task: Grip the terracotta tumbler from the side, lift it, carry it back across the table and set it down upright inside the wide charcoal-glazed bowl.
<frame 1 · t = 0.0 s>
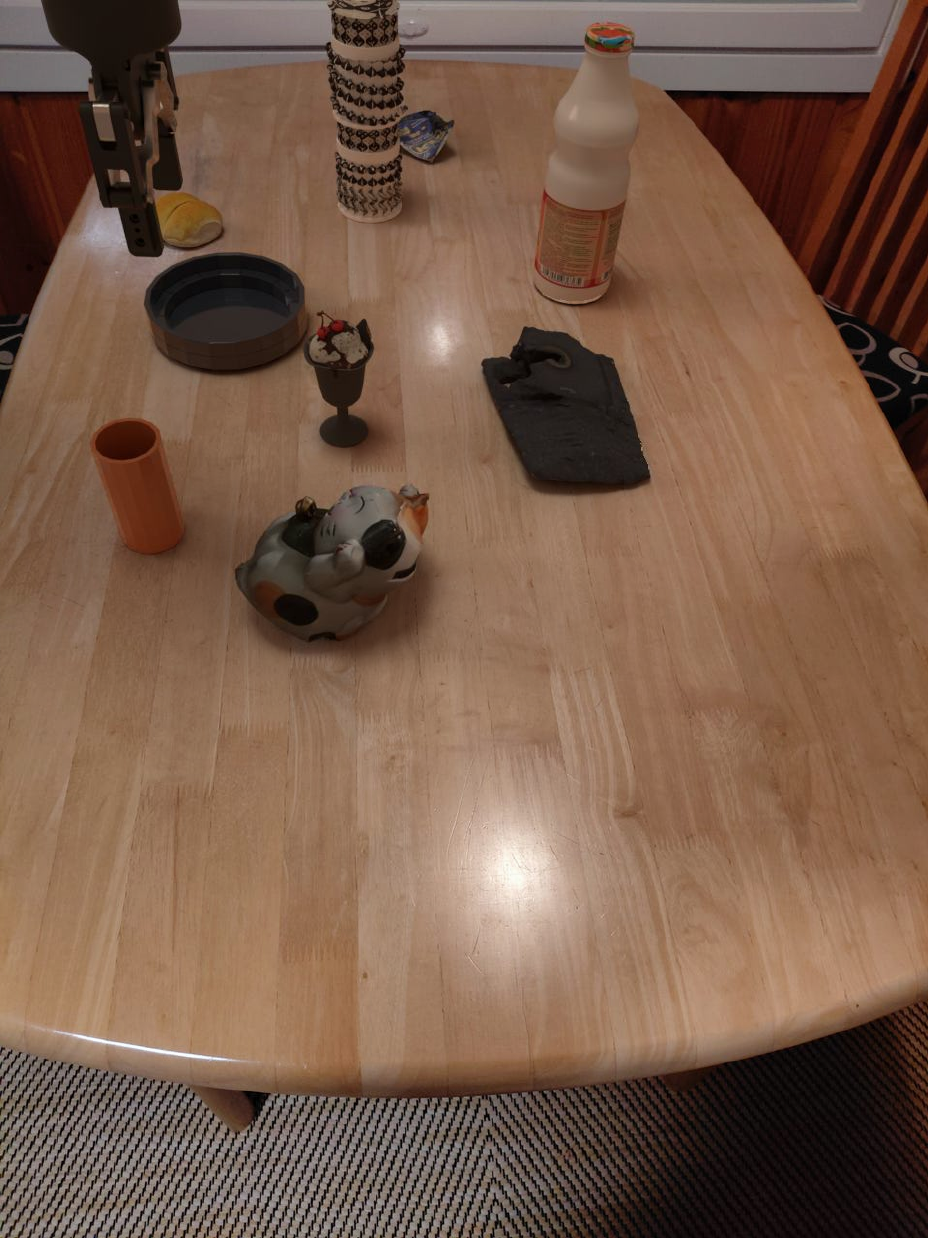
hand: (158, 219, 64), 29 cm above the table, tool pointing down, fingers open, 8 cm apart
cream patterned cylinder: (370, 207, 123), on the table
dark slate chunk: (562, 421, 98), on the table
bowl: (230, 326, 105), on the table
sundae: (343, 432, 96), on the table
lucky cat figurine: (338, 587, 83), on the table
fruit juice: (570, 286, 114), on the table
bread roll: (188, 232, 117), on the table
tumbler: (153, 531, 86), on the table
snack package: (413, 144, 134), on the table
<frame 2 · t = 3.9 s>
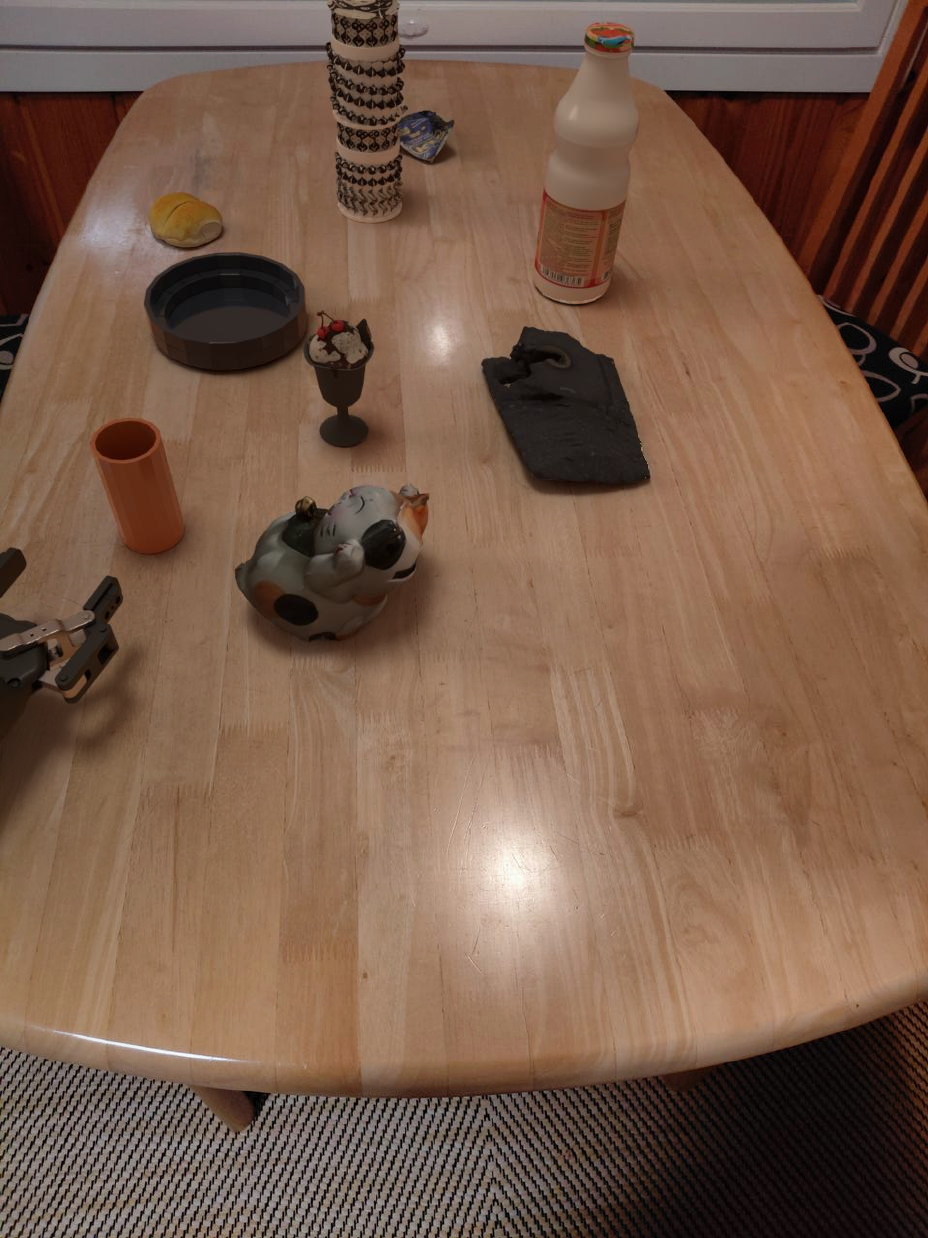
hand: (67, 568, 74), 7 cm above the table, tool horizontal, fingers open, 8 cm apart
nothing on the table moved.
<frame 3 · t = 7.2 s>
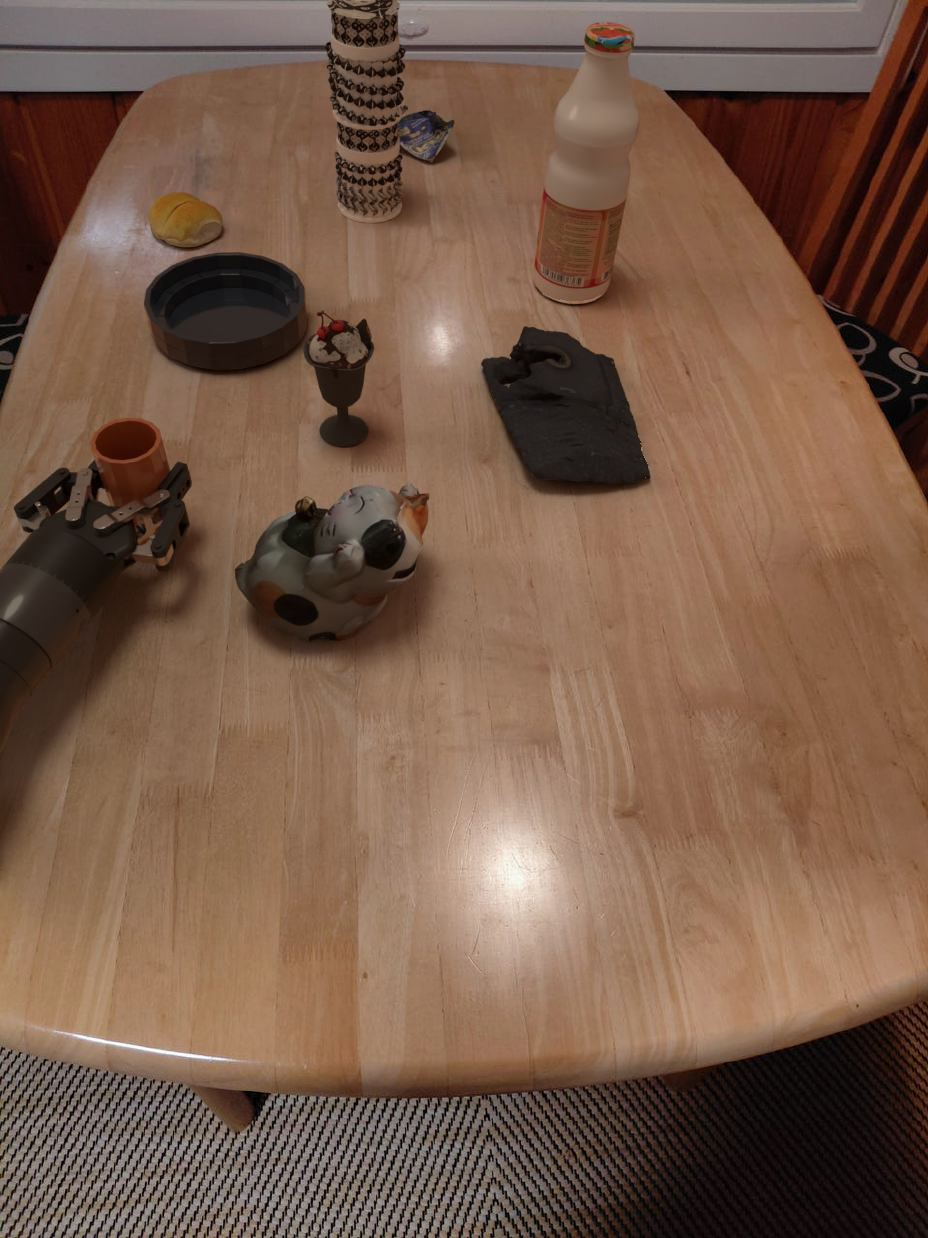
hand: (152, 461, 82), 7 cm above the table, tool horizontal, fingers closed on tumbler, 5 cm apart
tumbler: (153, 531, 86), on the table, touching gripper
everything else where it was.
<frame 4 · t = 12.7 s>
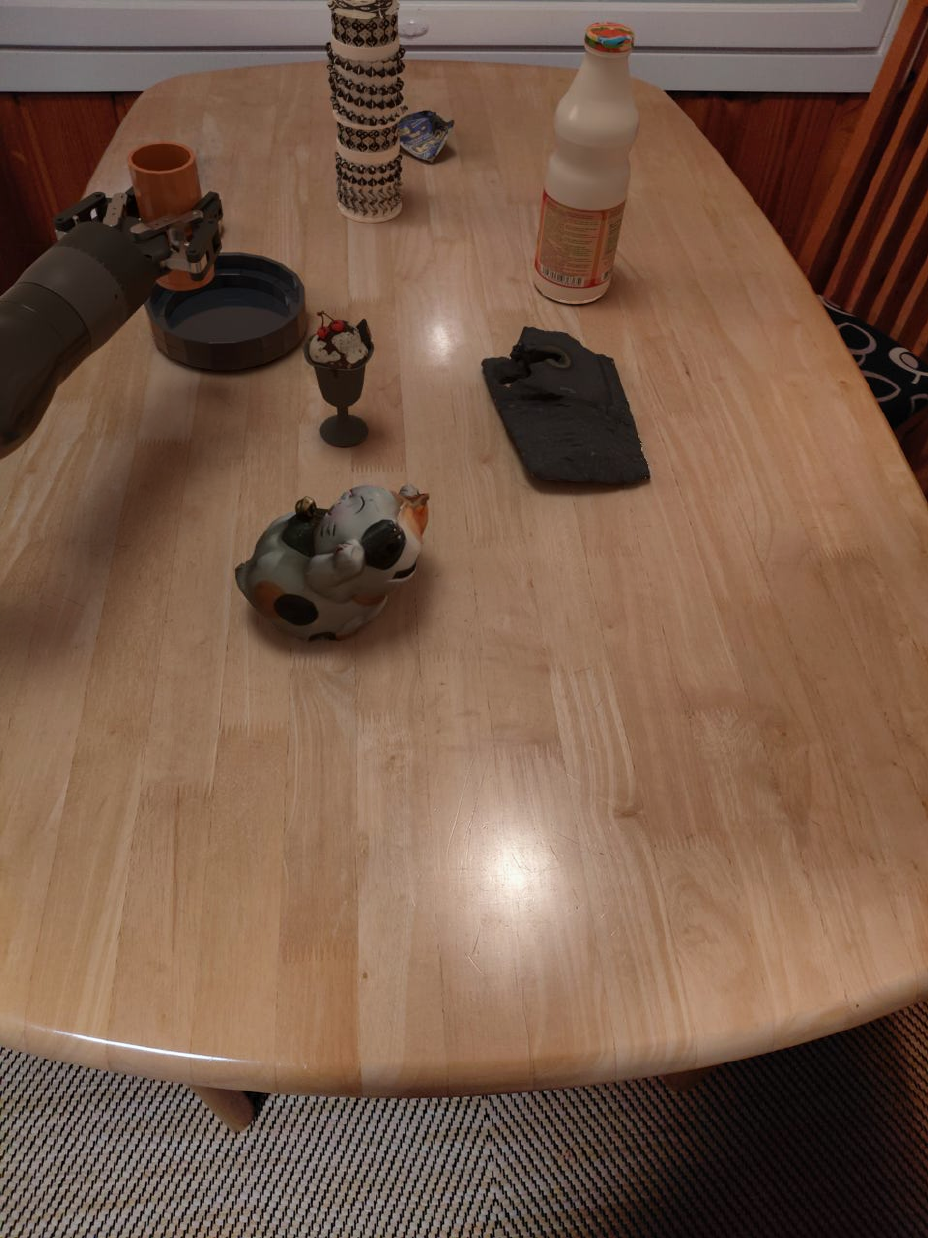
hand: (184, 194, 84), 20 cm above the table, tool horizontal, fingers closed on tumbler, 5 cm apart
tumbler: (184, 273, 88), point 13 cm above the table, touching gripper
everything else where it was.
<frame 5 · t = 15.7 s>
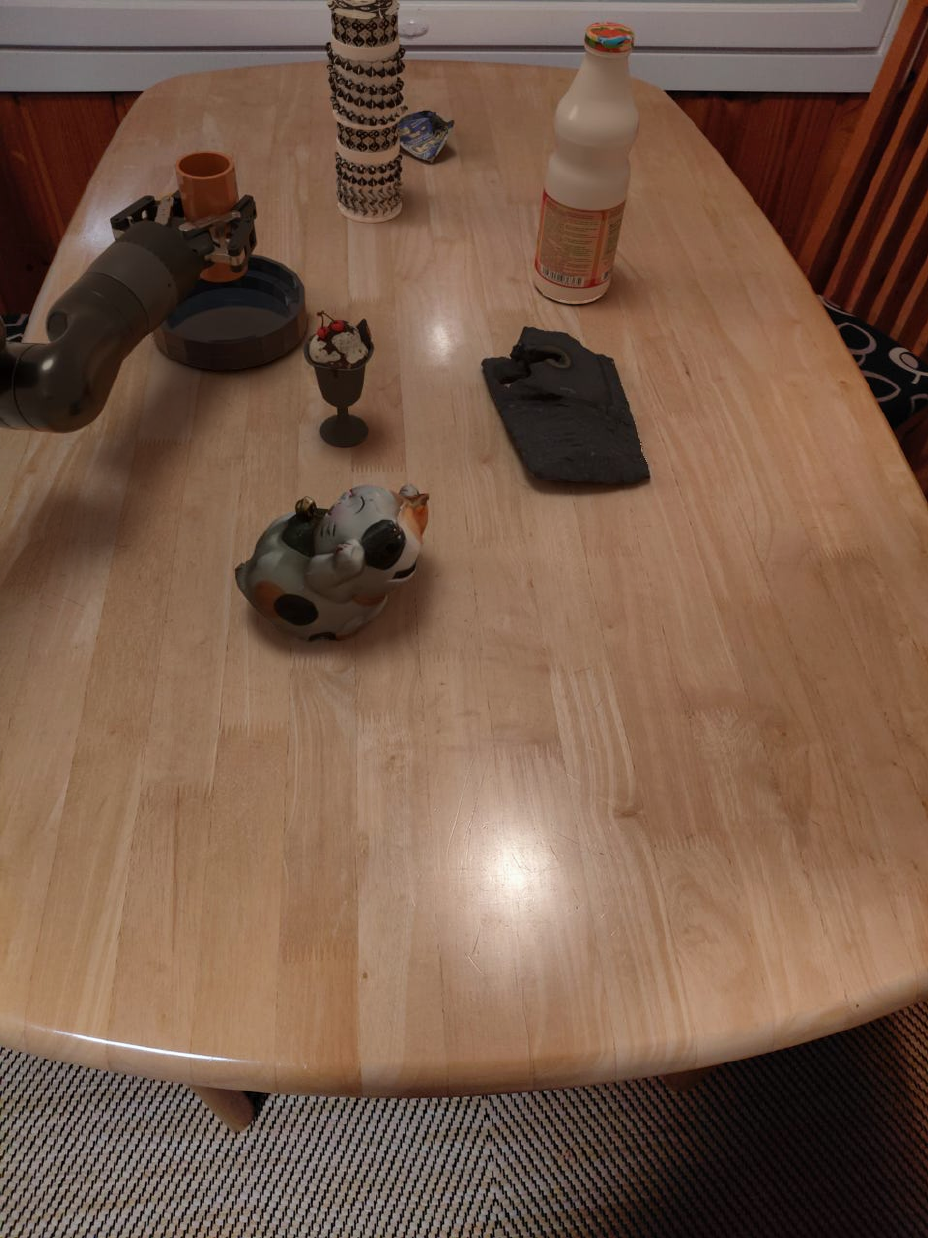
hand: (222, 197, 96), 14 cm above the table, tool horizontal, fingers closed on tumbler, 5 cm apart
tumbler: (221, 267, 99), point 7 cm above the table, touching gripper
everything else where it was.
when the fingers open (7 cm above the table, at t = 18.2 s): tumbler stays where it is, resting on bowl.
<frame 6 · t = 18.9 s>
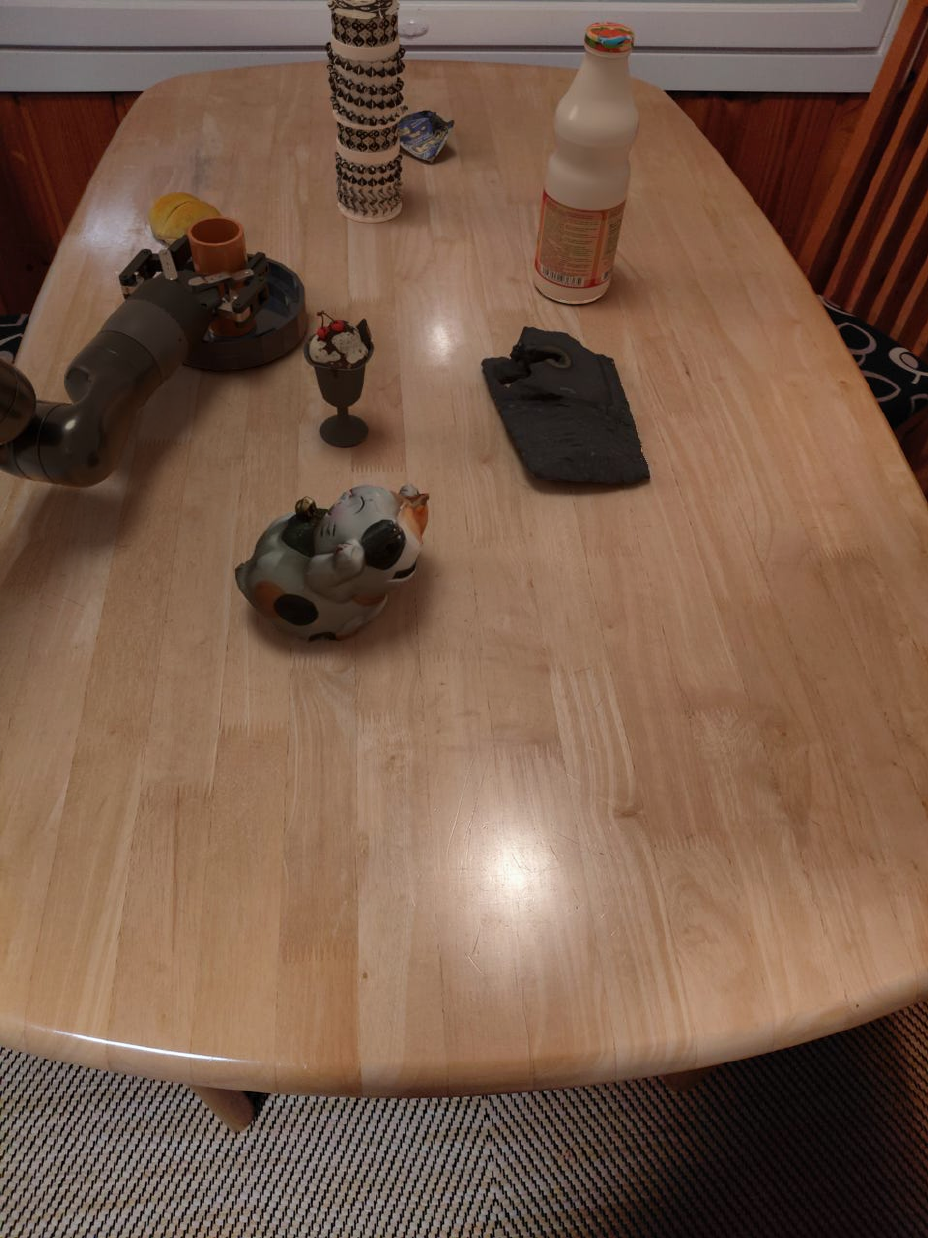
hand: (226, 251, 100), 8 cm above the table, tool horizontal, fingers open, 8 cm apart
tumbler: (230, 322, 105), point 1 cm above the table, touching bowl
everything else where it was.
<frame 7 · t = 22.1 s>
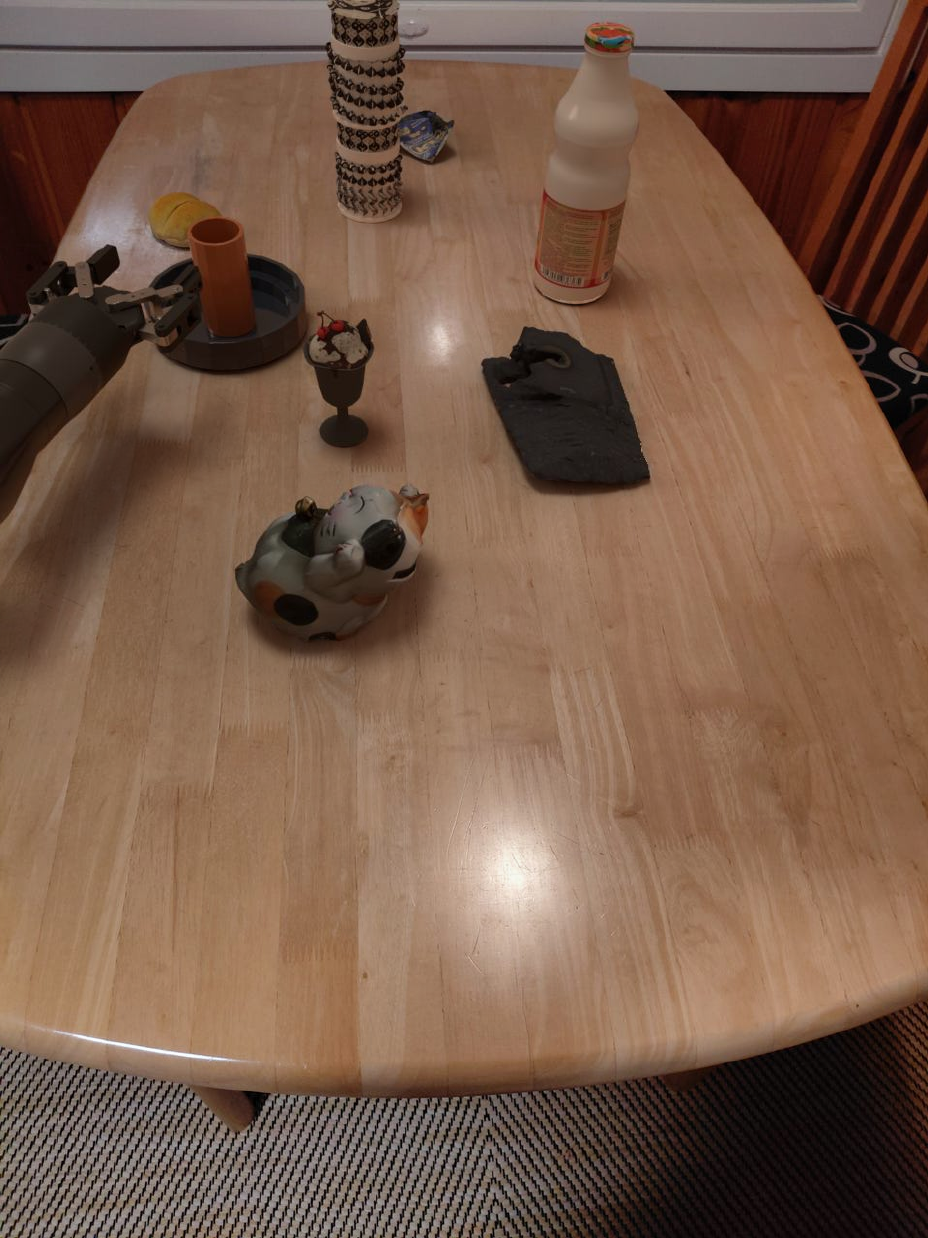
hand: (155, 263, 88), 14 cm above the table, tool horizontal, fingers open, 8 cm apart
nothing on the table moved.
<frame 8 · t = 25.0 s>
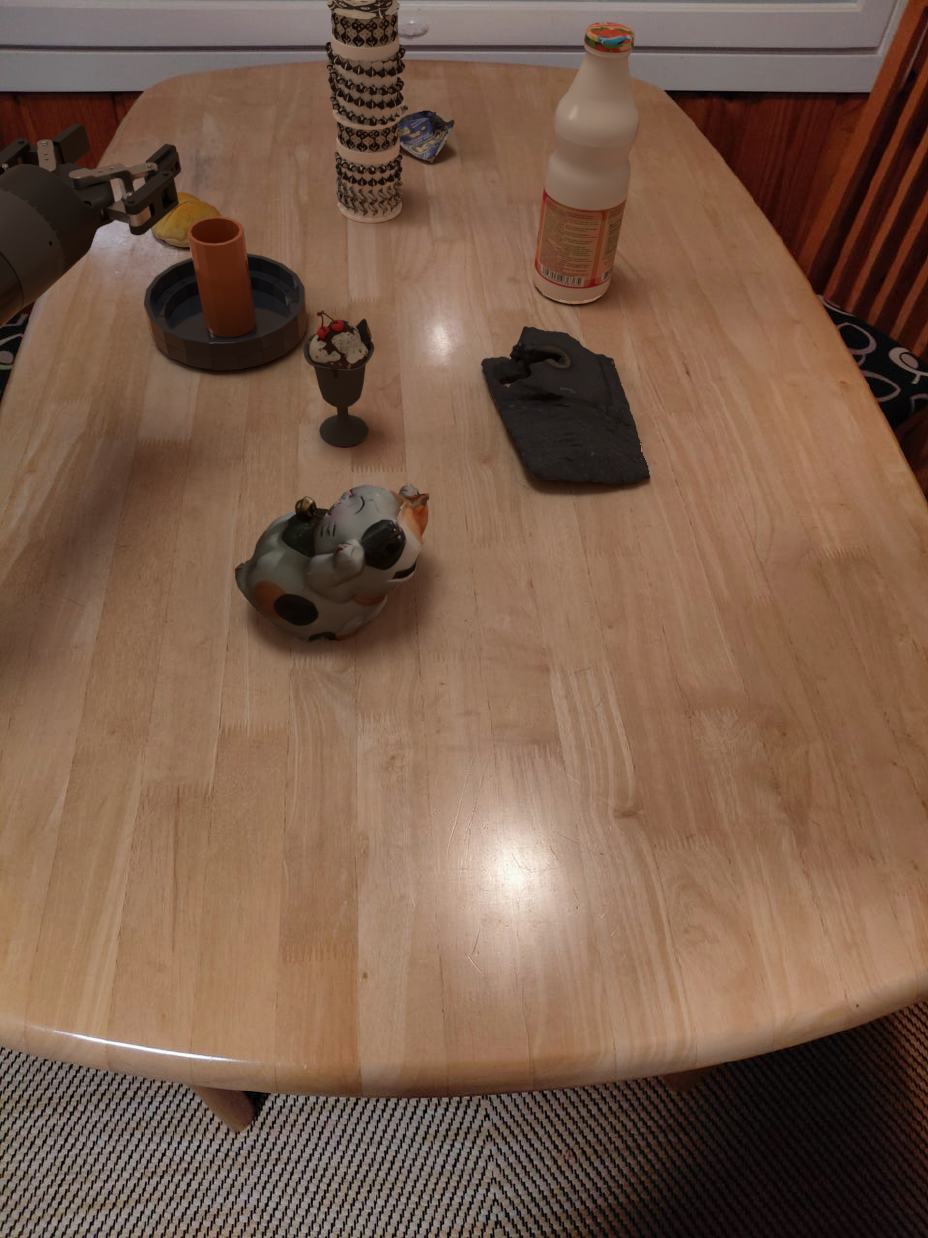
hand: (128, 145, 79), 25 cm above the table, tool horizontal, fingers open, 8 cm apart
nothing on the table moved.
at the end: tumbler inside the target area in the bowl (0.1 cm from its centre), point 0.6 cm above the bowl's base; tumbler tilted 0°; the gripper is holding nothing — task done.
